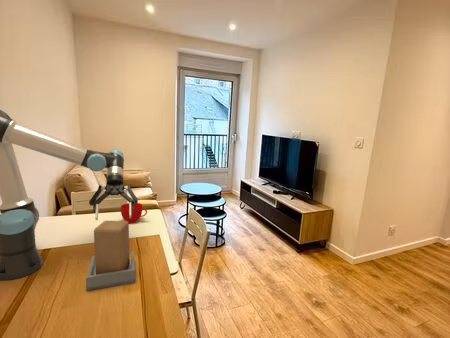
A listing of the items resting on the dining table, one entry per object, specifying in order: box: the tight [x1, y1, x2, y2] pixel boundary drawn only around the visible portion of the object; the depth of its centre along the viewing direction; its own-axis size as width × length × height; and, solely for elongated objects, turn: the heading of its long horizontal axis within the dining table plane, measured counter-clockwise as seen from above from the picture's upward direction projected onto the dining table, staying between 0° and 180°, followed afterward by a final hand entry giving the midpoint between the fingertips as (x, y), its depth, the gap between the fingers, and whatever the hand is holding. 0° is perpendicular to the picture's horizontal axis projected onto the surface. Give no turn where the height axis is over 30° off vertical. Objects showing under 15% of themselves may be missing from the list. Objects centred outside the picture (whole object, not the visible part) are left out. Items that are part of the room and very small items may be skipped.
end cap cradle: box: [85, 250, 136, 292], centre depth 99 cm, size 16×16×5 cm
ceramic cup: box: [119, 202, 148, 224], centre depth 157 cm, size 13×17×10 cm
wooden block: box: [93, 220, 131, 275], centre depth 98 cm, size 10×10×20 cm
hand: (113, 217), depth 110 cm, fingers open, 13 cm apart
